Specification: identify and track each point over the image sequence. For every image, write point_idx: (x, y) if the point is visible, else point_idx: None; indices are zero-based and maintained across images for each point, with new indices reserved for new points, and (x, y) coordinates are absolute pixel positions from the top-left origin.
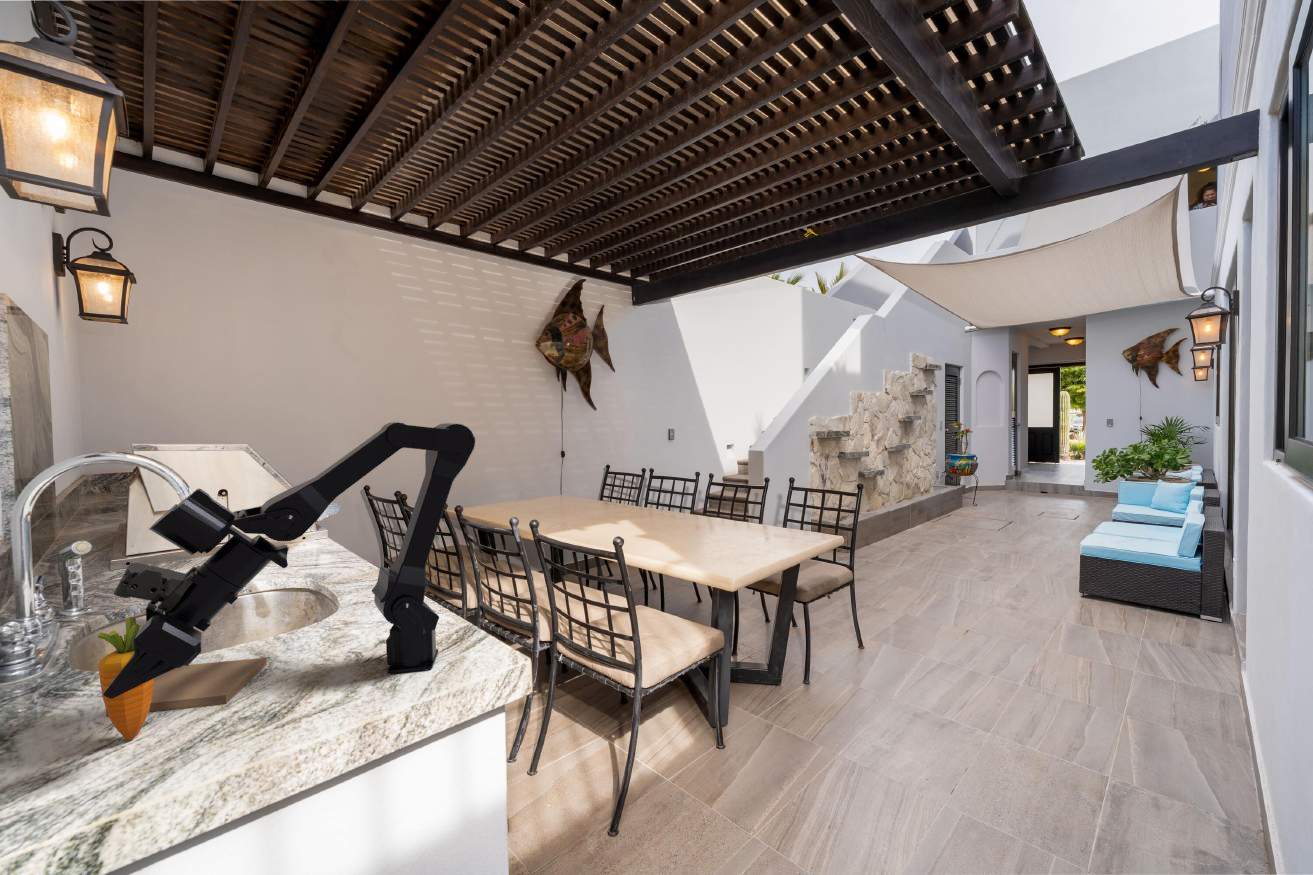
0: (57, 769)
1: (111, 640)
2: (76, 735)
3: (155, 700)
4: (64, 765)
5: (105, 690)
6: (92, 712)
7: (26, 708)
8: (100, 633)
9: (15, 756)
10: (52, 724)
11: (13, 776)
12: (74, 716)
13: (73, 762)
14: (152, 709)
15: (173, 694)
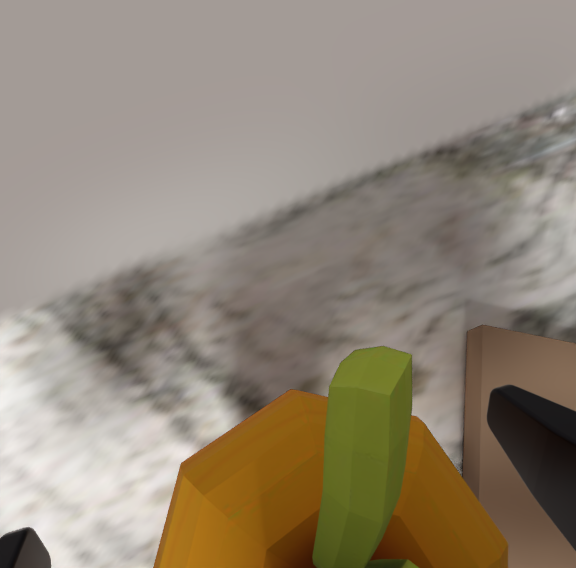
0: (170, 341)
1: (329, 532)
2: (369, 300)
3: (496, 472)
4: (186, 349)
5: (10, 545)
6: (505, 280)
7: (568, 119)
8: (378, 385)
9: (302, 206)
10: (459, 212)
11: (186, 249)
12: (492, 245)
13: (193, 366)
14: (466, 466)
15: (533, 522)
